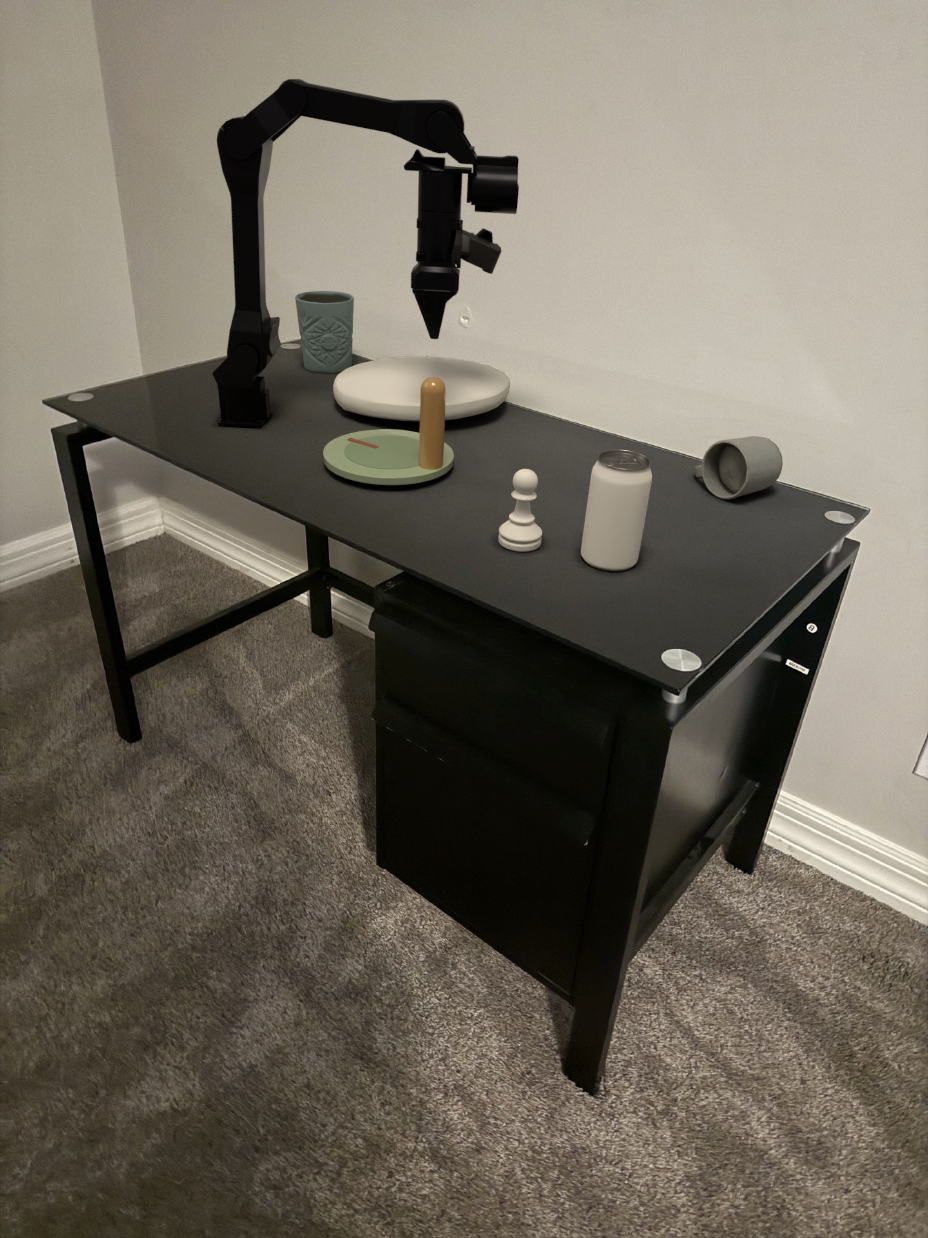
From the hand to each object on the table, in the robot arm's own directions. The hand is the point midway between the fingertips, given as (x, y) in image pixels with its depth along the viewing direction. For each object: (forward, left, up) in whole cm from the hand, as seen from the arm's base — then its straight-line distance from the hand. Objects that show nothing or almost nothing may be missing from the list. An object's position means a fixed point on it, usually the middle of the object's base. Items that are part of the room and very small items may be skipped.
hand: (435, 330), depth 124 cm
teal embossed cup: (-20, +30, -15) cm, 39 cm away
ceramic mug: (+41, -17, -15) cm, 47 cm away
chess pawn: (+12, -36, -15) cm, 41 cm away
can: (+22, -39, -15) cm, 47 cm away
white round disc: (-2, +11, -15) cm, 19 cm away
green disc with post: (-5, -15, -15) cm, 22 cm away
